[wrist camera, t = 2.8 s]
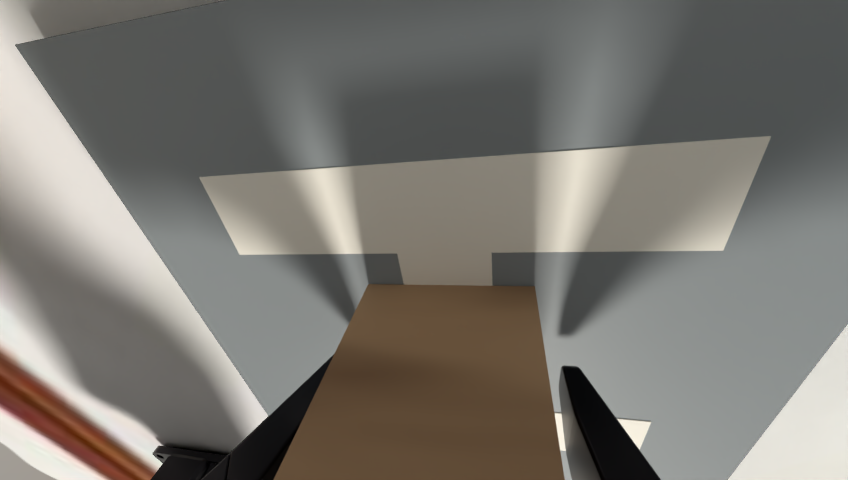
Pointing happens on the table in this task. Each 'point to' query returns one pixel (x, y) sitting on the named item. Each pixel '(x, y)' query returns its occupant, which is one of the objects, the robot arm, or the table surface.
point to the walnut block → (433, 391)
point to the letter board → (496, 184)
